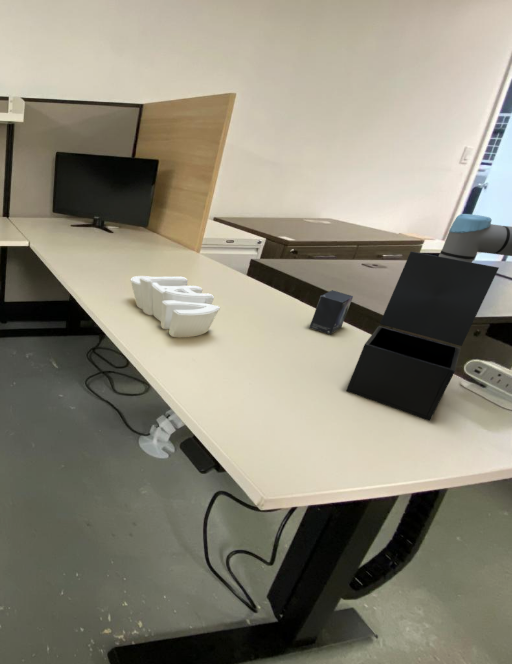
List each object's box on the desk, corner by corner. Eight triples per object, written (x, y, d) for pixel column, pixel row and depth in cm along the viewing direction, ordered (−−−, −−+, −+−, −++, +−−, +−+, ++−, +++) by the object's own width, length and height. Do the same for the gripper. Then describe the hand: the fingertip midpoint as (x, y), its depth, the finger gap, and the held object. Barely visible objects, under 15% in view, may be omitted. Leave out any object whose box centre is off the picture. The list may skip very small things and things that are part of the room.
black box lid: (499, 267, 98) (498, 267, 99) (410, 251, 107) (410, 251, 108) (461, 346, 102) (461, 345, 103) (379, 323, 111) (379, 323, 112)
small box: (331, 335, 136) (343, 302, 131) (308, 328, 140) (319, 295, 135) (342, 327, 143) (354, 295, 138) (320, 320, 147) (331, 289, 142)
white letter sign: (224, 344, 124) (233, 307, 120) (167, 344, 121) (174, 307, 117) (169, 299, 155) (175, 268, 151) (122, 298, 152) (127, 267, 148)
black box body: (429, 421, 96) (455, 370, 91) (345, 391, 105) (364, 344, 100) (437, 393, 107) (460, 347, 102) (361, 368, 117) (378, 325, 112)
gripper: (470, 297, 123) (465, 317, 107) (411, 284, 130) (398, 301, 114) (483, 269, 120) (480, 286, 103) (422, 258, 127) (410, 272, 111)
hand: (437, 294), depth 109 cm, fingers closed
